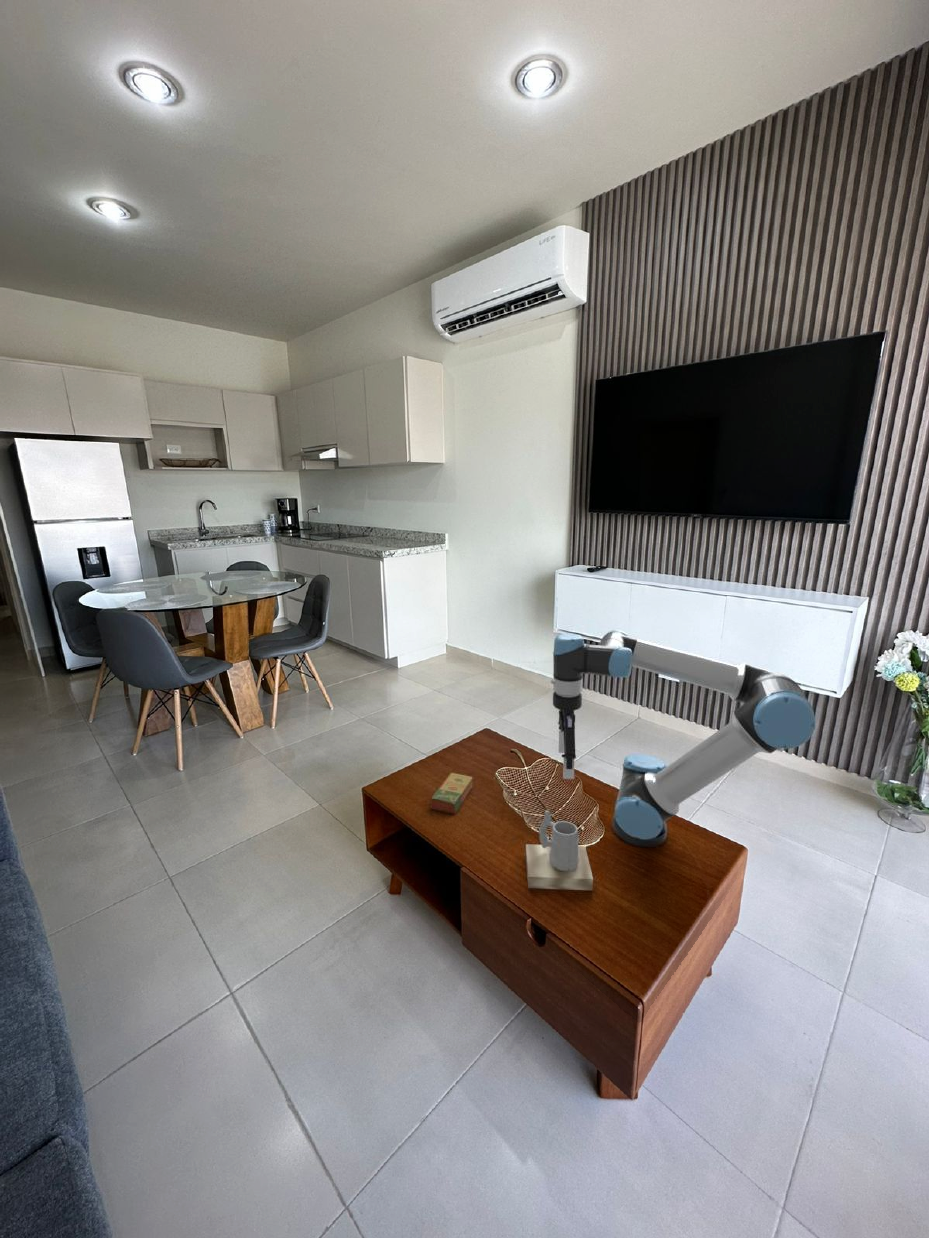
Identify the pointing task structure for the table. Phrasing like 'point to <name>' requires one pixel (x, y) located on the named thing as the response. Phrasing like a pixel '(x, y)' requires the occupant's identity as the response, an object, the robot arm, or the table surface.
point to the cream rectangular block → (556, 871)
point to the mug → (561, 843)
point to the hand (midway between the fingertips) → (565, 764)
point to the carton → (452, 793)
